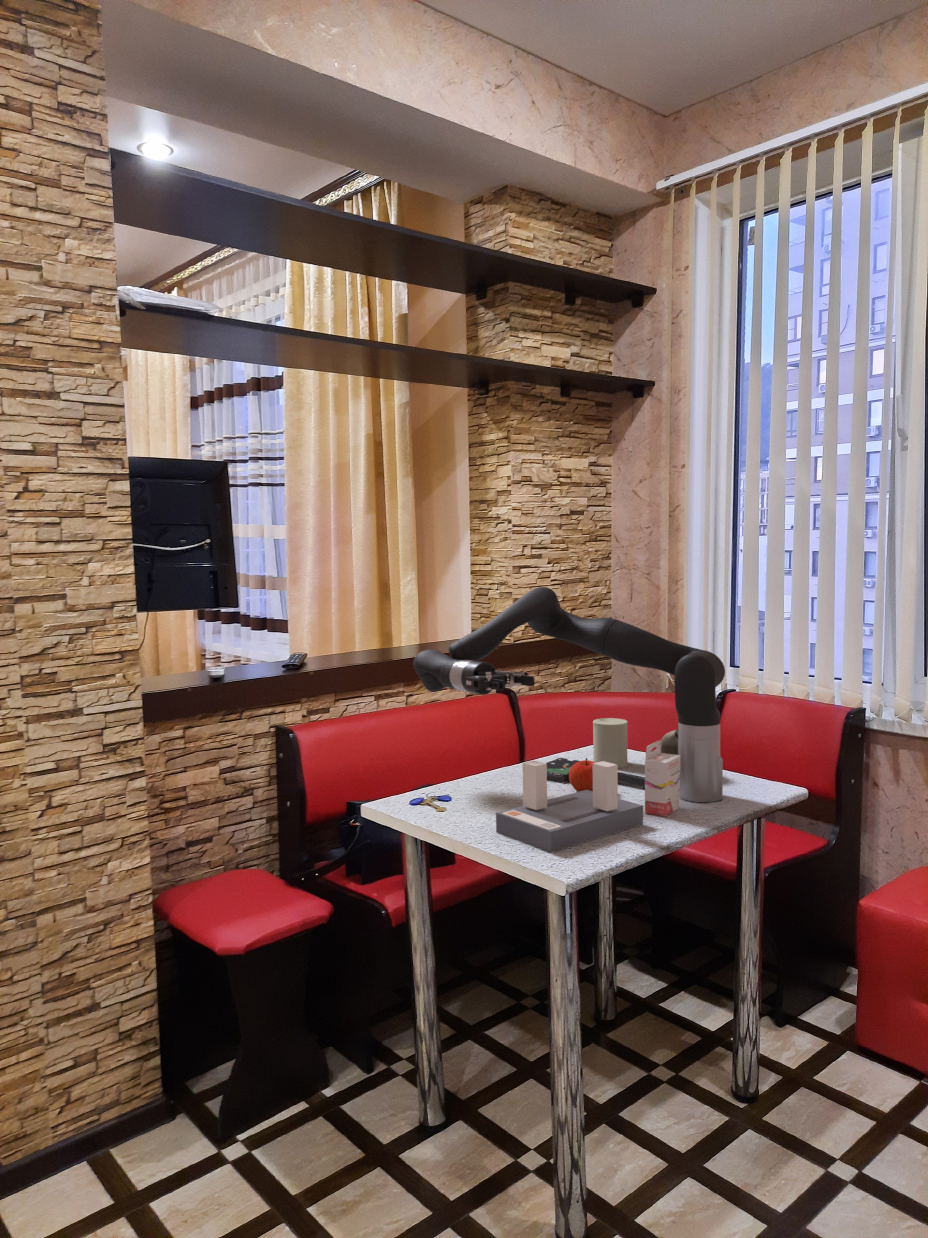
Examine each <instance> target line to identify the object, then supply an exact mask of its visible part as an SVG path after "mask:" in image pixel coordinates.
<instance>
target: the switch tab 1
mask: <svg viewBox="0 0 928 1238" xmlns="http://www.w3.org/2000/svg"><path fill="white" fill-rule="evenodd" d="M545 763H546V762H542V761H537V760H534V759H533V760H528V761H525V762H524V761H523V762H522V806H525V807H528V808H531V809H534V810H539V809H543V808H546V807H547V800H548V780H547V764H545Z"/></svg>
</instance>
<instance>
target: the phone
mask: <svg viewBox="0 0 928 1238" xmlns="http://www.w3.org/2000/svg"><path fill="white" fill-rule="evenodd" d="M618 786H623V787H626V788H632V789H635V790H636V789H637V790H641V791H645V776H641V775H634V774H630V773H624V772H620V771H618Z"/></svg>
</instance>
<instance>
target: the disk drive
mask: <svg viewBox="0 0 928 1238" xmlns="http://www.w3.org/2000/svg"><path fill="white" fill-rule="evenodd" d="M580 761H581V760H578V759H574V760H569V759H568V758H565V757H564V758H563V757H558V758H556V759H553V760H551V761H547V762H544V763H545V764H547V782H548V781H550V782H556V783H561V784H566V783H569V782H570V780H569V771H570V768H571V767H572V766H573V765H574V764H575V763H577V762H580Z"/></svg>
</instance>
